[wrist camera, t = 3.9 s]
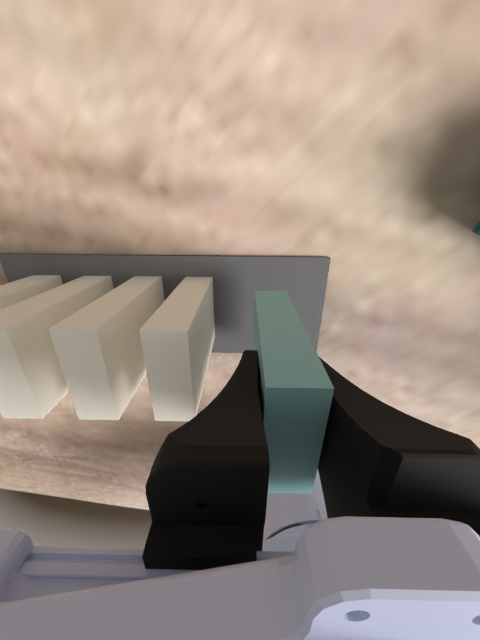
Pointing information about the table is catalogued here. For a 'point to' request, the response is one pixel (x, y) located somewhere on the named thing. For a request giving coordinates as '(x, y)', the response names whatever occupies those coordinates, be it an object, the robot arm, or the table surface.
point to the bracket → (477, 229)
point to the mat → (227, 271)
